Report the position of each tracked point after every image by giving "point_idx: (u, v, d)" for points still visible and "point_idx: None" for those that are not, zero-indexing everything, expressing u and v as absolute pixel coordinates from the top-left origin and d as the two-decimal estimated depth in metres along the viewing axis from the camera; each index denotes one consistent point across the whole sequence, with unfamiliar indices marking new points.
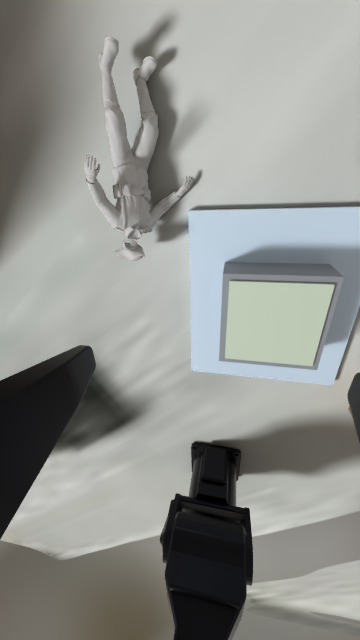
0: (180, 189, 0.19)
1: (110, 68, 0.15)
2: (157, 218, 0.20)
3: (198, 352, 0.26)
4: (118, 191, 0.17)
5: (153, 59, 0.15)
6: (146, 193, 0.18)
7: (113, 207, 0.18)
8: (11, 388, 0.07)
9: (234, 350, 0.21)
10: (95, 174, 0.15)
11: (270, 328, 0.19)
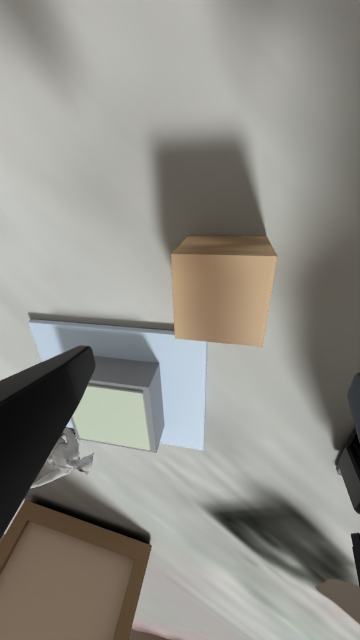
0: None
1: None
2: (70, 440, 0.29)
3: (179, 441, 0.26)
4: (50, 464, 0.29)
5: None
6: None
7: (57, 470, 0.29)
8: (11, 388, 0.07)
9: (139, 443, 0.22)
10: None
11: (110, 419, 0.21)
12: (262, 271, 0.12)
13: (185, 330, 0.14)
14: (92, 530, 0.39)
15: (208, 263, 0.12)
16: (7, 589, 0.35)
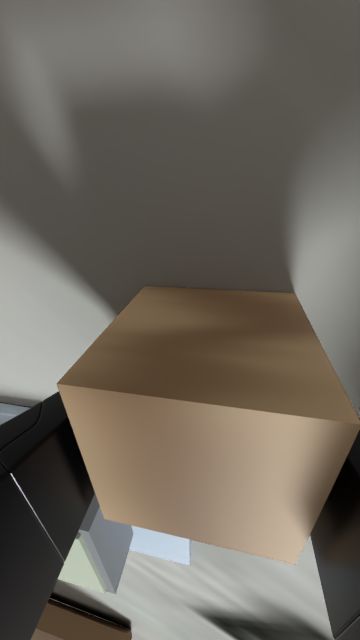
0: None
1: None
2: None
3: (156, 552, 0.18)
4: None
5: None
6: None
7: None
8: None
9: (88, 584, 0.15)
10: None
11: None
12: (308, 449, 0.04)
13: (123, 512, 0.07)
14: (58, 617, 0.32)
15: (156, 414, 0.04)
16: None
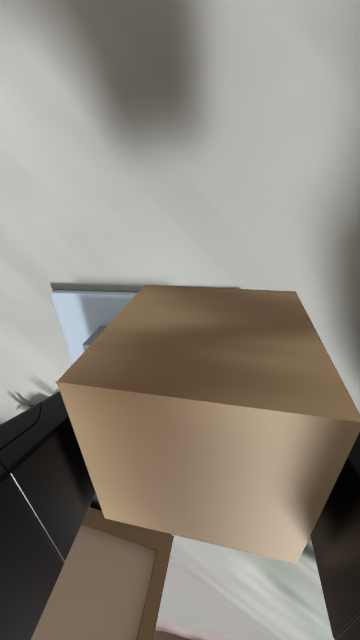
0: None
1: None
2: None
3: None
4: None
5: (17, 408, 0.30)
6: None
7: None
8: None
9: None
10: None
11: None
12: (310, 448, 0.04)
13: (123, 511, 0.07)
14: (112, 521, 0.38)
15: (156, 412, 0.04)
16: None
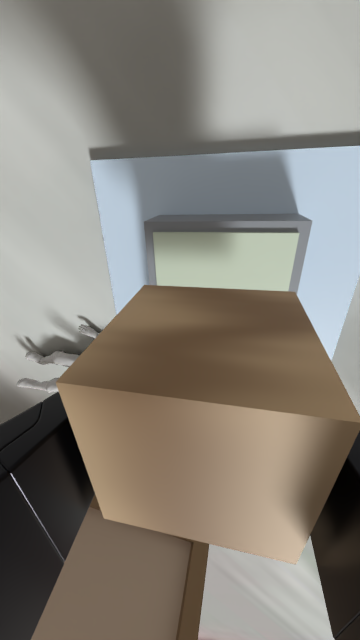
0: (90, 335, 0.21)
1: (35, 383, 0.23)
2: None
3: None
4: None
5: (26, 355, 0.23)
6: None
7: None
8: None
9: None
10: None
11: None
12: (309, 448, 0.04)
13: (122, 511, 0.07)
14: None
15: (155, 412, 0.04)
16: None
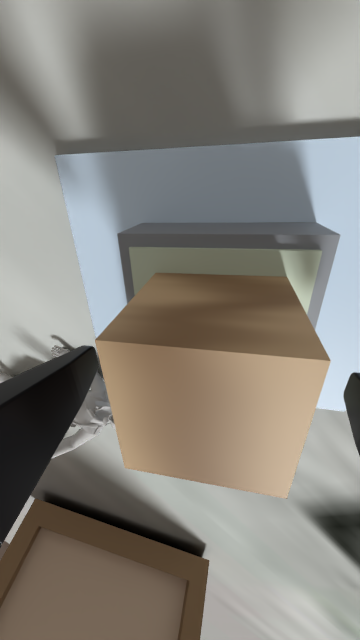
0: None
1: None
2: (94, 382, 0.18)
3: None
4: None
5: None
6: None
7: (78, 432, 0.17)
8: (15, 389, 0.07)
9: None
10: None
11: None
12: (291, 386, 0.05)
13: (141, 459, 0.08)
14: (127, 540, 0.29)
15: (173, 362, 0.06)
16: (12, 627, 0.24)
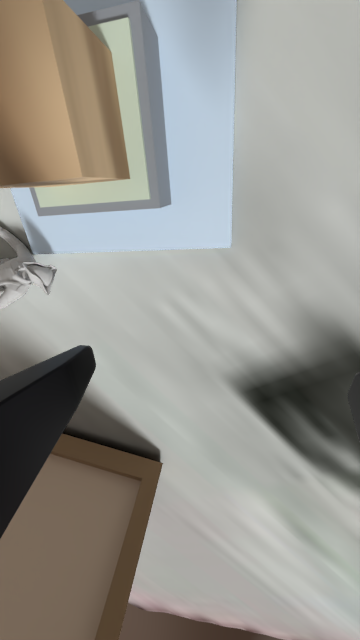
0: None
1: None
2: (21, 251, 0.20)
3: (194, 237, 0.18)
4: None
5: None
6: None
7: (3, 292, 0.19)
8: (11, 388, 0.07)
9: (132, 185, 0.14)
10: None
11: None
12: (27, 14, 0.07)
13: None
14: (85, 447, 0.31)
15: None
16: None
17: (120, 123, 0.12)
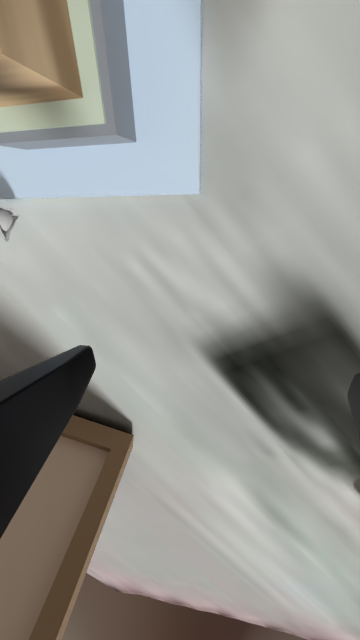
0: None
1: None
2: None
3: (161, 181, 0.17)
4: None
5: None
6: None
7: None
8: (11, 388, 0.07)
9: (85, 105, 0.13)
10: None
11: None
12: None
13: None
14: None
15: None
16: None
17: (69, 27, 0.11)
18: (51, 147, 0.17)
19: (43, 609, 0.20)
